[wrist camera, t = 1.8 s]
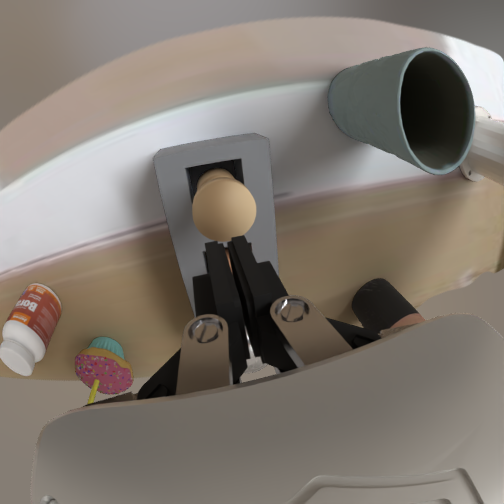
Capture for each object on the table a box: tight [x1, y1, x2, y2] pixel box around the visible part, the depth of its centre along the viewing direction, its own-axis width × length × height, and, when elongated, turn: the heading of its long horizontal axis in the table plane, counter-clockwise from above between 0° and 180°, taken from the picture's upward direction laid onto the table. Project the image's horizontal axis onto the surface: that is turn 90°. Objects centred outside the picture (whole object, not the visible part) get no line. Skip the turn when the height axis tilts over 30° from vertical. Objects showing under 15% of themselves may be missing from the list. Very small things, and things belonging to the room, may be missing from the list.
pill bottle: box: [0, 283, 62, 376], centre depth 23 cm, size 6×6×11 cm
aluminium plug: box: [244, 327, 268, 373], centre depth 27 cm, size 4×4×6 cm
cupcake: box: [75, 337, 133, 404], centre depth 29 cm, size 9×8×12 cm
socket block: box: [153, 133, 279, 318], centre depth 27 cm, size 9×22×5 cm, turn 6°
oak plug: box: [192, 168, 256, 242], centre depth 19 cm, size 4×4×6 cm
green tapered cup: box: [328, 47, 476, 175], centre depth 19 cm, size 10×10×12 cm
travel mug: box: [352, 279, 426, 334], centre depth 31 cm, size 8×8×20 cm
